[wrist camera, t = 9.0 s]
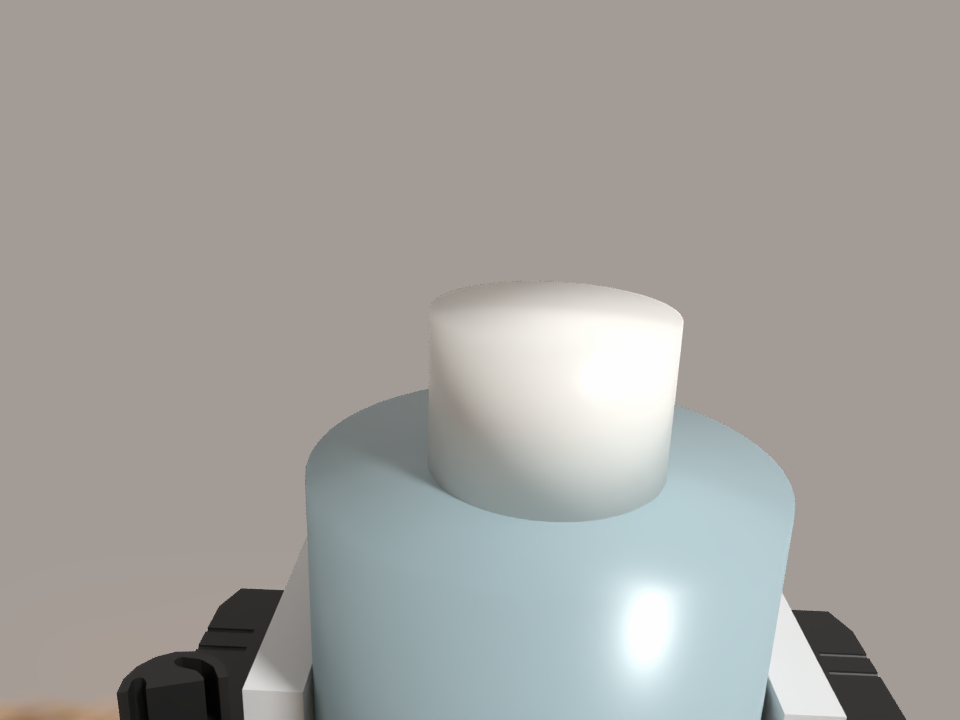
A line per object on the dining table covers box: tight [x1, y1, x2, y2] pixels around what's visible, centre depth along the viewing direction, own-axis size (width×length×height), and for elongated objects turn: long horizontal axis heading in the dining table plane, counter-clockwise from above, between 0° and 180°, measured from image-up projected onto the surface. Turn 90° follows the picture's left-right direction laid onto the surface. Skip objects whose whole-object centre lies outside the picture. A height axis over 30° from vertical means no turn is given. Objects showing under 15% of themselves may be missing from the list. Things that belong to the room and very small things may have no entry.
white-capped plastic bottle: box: [305, 281, 795, 720], centre depth 12 cm, size 6×6×12 cm
